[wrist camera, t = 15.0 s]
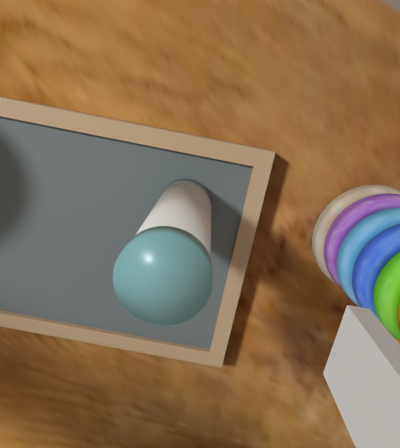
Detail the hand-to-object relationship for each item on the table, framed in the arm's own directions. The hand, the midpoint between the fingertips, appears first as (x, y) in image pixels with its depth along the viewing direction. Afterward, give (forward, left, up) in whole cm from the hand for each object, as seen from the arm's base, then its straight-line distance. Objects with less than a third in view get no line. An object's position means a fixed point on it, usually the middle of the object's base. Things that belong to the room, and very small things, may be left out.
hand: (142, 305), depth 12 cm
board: (-6, -4, -16) cm, 17 cm away
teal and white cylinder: (0, 0, -15) cm, 15 cm away
